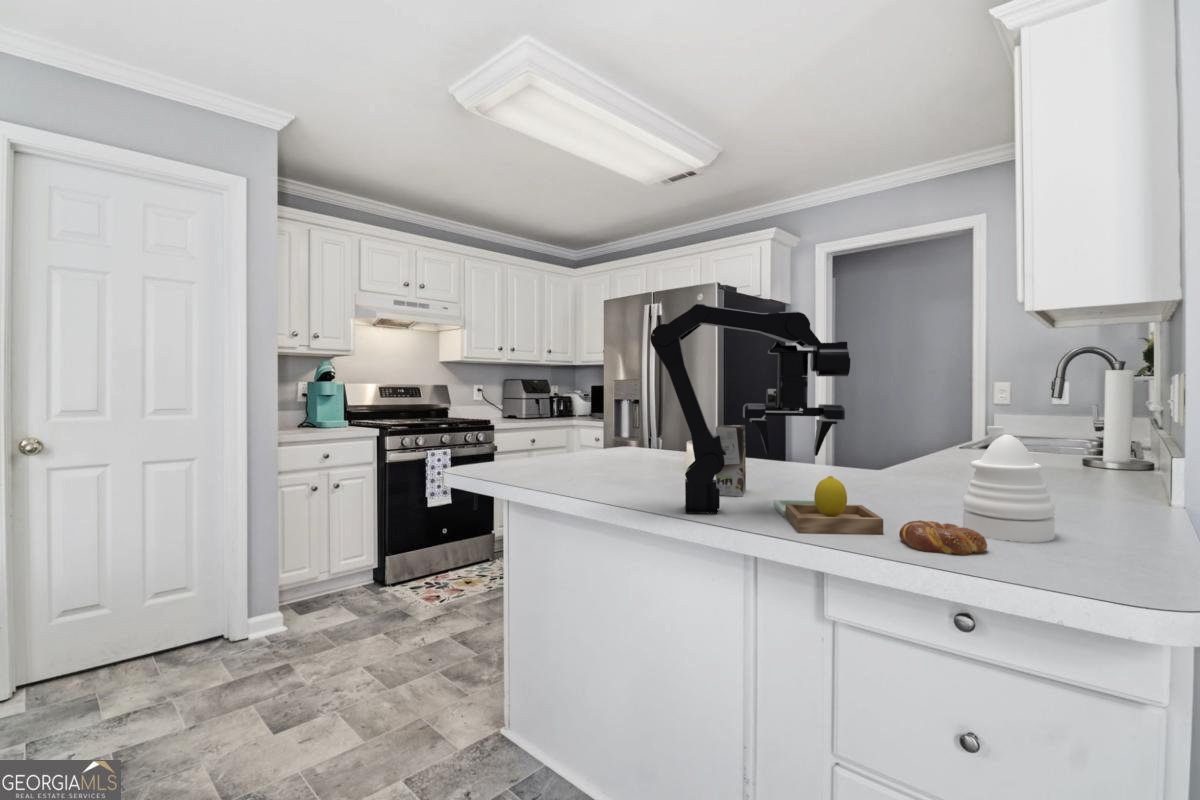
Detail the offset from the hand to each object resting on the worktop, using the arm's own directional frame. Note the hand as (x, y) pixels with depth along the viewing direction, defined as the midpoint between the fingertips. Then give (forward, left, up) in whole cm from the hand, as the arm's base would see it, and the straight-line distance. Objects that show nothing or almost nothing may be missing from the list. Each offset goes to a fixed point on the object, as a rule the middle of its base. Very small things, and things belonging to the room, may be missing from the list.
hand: (791, 454), depth 117 cm
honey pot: (+33, -13, -12) cm, 37 cm away
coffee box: (-10, +22, -12) cm, 27 cm away
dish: (+3, +2, -12) cm, 12 cm away
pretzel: (+19, -22, -12) cm, 32 cm away
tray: (+5, -10, -12) cm, 16 cm away
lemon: (+5, -10, -11) cm, 15 cm away
